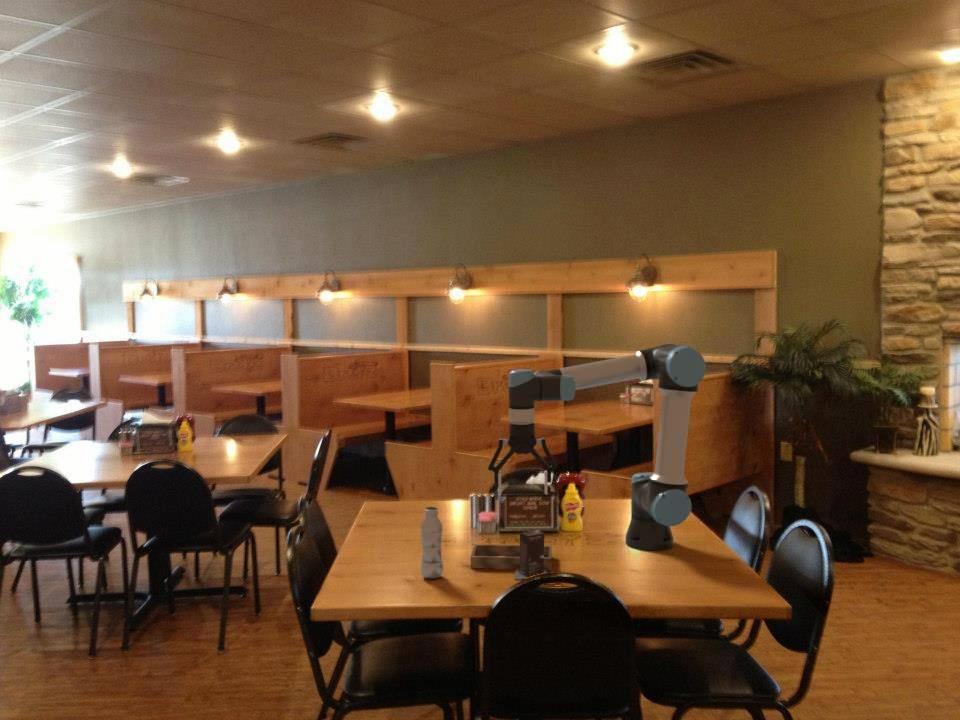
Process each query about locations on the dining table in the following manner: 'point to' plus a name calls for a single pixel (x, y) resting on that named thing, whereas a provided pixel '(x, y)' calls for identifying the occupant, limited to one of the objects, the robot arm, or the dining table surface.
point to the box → (531, 553)
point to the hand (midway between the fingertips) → (523, 493)
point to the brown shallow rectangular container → (489, 557)
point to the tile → (520, 576)
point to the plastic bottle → (431, 544)
